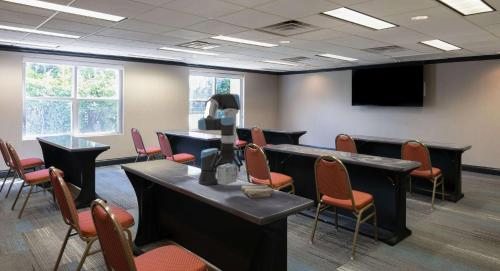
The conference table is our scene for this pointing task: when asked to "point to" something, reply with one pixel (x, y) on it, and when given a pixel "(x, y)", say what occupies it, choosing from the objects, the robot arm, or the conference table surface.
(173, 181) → the conference table surface
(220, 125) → the robot arm
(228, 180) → the light bulb box
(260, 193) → the wavy wood-grain tile
